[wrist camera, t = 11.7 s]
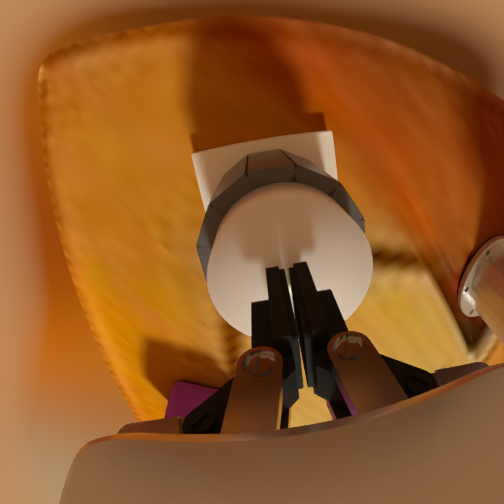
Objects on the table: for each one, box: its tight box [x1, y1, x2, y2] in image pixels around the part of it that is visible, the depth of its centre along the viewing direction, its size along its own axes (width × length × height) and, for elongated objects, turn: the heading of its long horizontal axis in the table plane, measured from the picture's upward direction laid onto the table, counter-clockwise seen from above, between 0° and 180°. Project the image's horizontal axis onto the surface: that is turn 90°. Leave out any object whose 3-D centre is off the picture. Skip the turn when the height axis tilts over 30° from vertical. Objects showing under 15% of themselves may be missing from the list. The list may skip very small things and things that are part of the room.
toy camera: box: [165, 382, 219, 418], centre depth 32 cm, size 11×14×10 cm
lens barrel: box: [191, 130, 365, 281], centre depth 19 cm, size 11×11×10 cm
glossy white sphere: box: [207, 182, 373, 339], centre depth 15 cm, size 8×8×7 cm
